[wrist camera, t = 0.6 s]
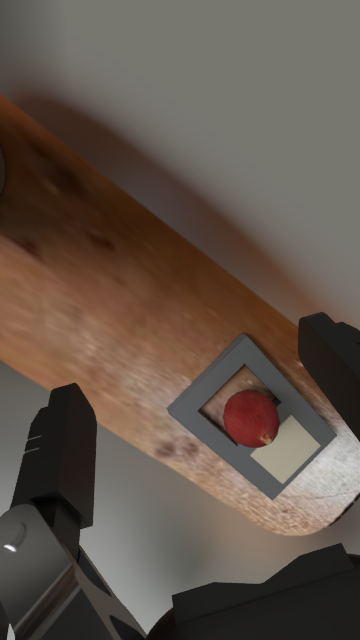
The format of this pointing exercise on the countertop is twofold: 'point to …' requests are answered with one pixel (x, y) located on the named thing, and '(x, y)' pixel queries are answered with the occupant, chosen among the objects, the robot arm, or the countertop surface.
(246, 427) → the onion
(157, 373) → the countertop surface
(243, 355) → the tray
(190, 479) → the countertop surface
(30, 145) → the countertop surface
